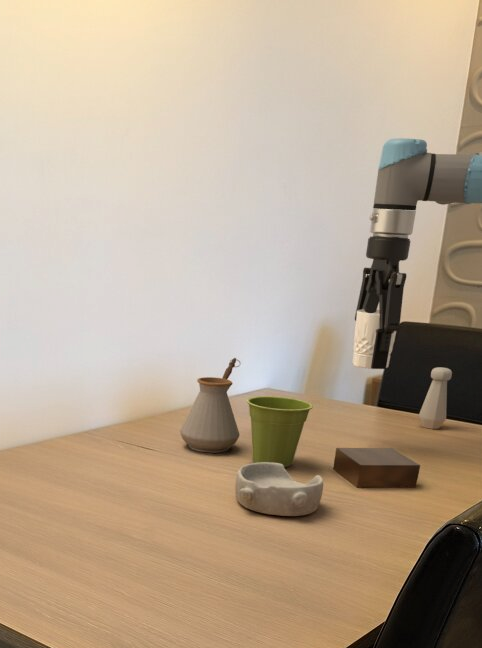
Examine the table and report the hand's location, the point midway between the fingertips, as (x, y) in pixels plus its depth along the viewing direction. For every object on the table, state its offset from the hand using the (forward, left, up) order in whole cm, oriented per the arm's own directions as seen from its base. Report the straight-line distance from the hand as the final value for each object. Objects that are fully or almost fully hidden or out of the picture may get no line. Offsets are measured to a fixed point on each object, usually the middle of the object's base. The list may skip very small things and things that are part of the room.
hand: (369, 364), depth 160 cm
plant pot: (+22, +12, -16) cm, 30 cm away
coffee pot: (+29, -3, -16) cm, 33 cm away
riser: (+6, +21, -16) cm, 27 cm away
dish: (+29, +35, -16) cm, 48 cm away
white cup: (0, 0, 0) cm, 0 cm away
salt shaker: (-25, -17, -16) cm, 35 cm away
